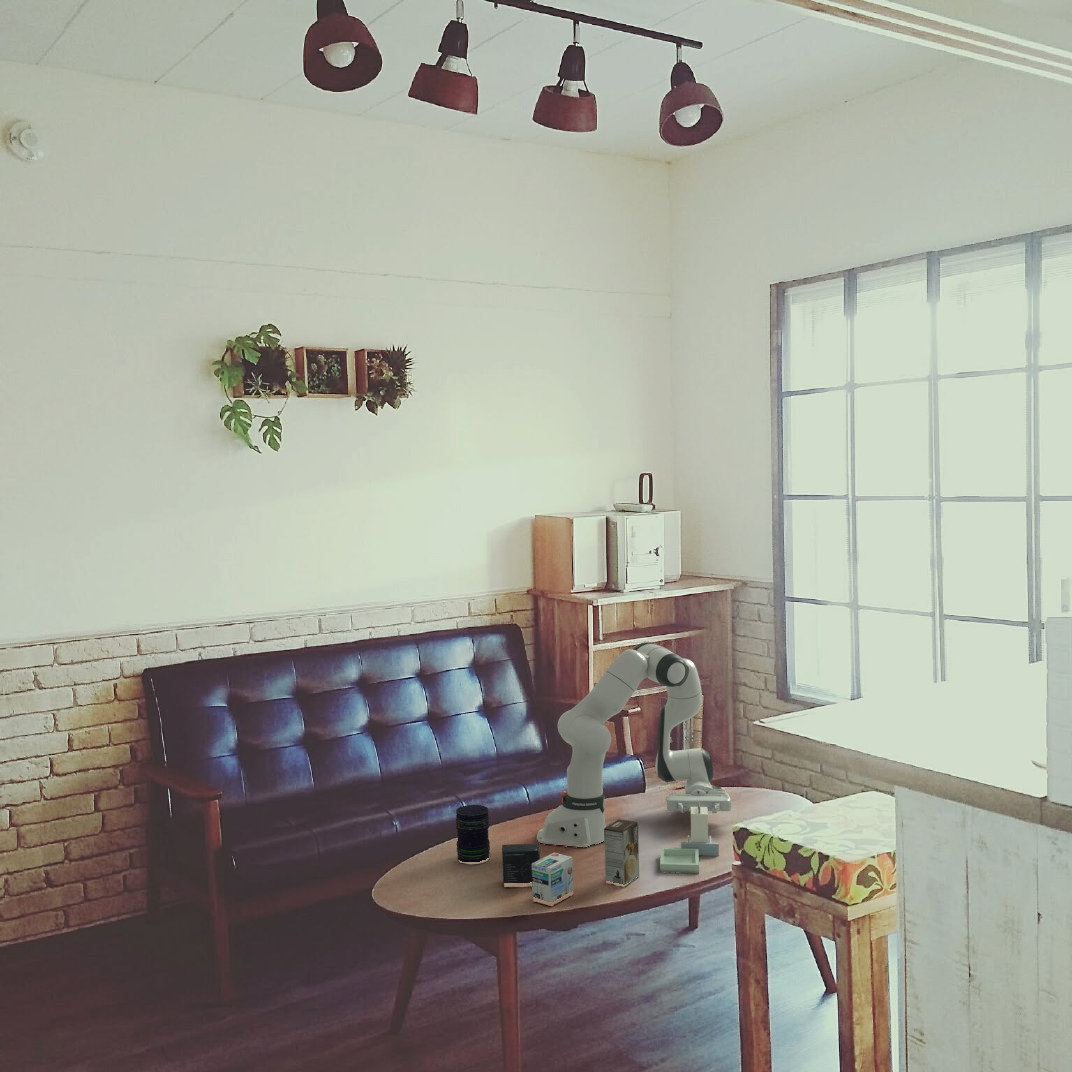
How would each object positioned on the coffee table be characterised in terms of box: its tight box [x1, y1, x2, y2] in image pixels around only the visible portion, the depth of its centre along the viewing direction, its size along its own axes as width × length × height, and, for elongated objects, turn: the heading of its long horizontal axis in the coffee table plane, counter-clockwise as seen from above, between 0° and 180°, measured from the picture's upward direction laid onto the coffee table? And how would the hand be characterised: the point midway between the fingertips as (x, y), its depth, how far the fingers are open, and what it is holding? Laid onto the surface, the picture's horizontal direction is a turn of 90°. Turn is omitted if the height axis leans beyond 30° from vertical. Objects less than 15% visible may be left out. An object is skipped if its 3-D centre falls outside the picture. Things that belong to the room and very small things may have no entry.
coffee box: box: [603, 818, 640, 885], centre depth 315 cm, size 9×6×16 cm
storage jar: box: [455, 804, 491, 862], centre depth 335 cm, size 10×10×15 cm
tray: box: [659, 847, 700, 874], centre depth 327 cm, size 11×13×2 cm
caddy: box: [690, 802, 709, 843], centre depth 338 cm, size 5×7×14 cm
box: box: [501, 842, 541, 884], centre depth 315 cm, size 11×7×10 cm, turn 91°
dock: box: [680, 834, 720, 857], centre depth 338 cm, size 11×8×4 cm
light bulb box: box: [531, 852, 574, 902], centre depth 304 cm, size 11×7×11 cm, turn 143°
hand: (699, 810), depth 350 cm, fingers open, 8 cm apart
